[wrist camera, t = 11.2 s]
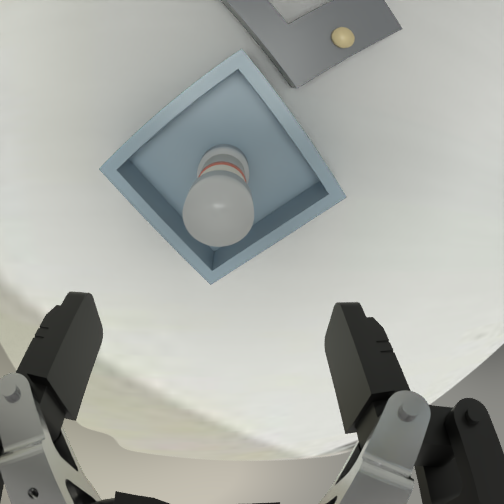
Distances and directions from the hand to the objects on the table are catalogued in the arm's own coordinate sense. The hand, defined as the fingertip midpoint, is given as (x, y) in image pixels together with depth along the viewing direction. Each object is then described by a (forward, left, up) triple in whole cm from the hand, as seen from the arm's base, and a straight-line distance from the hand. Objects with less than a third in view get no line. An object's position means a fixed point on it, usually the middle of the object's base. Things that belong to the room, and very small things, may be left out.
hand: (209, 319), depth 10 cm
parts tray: (0, 0, -18) cm, 18 cm away
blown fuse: (0, 0, -17) cm, 17 cm away
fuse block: (-13, -9, -18) cm, 24 cm away
